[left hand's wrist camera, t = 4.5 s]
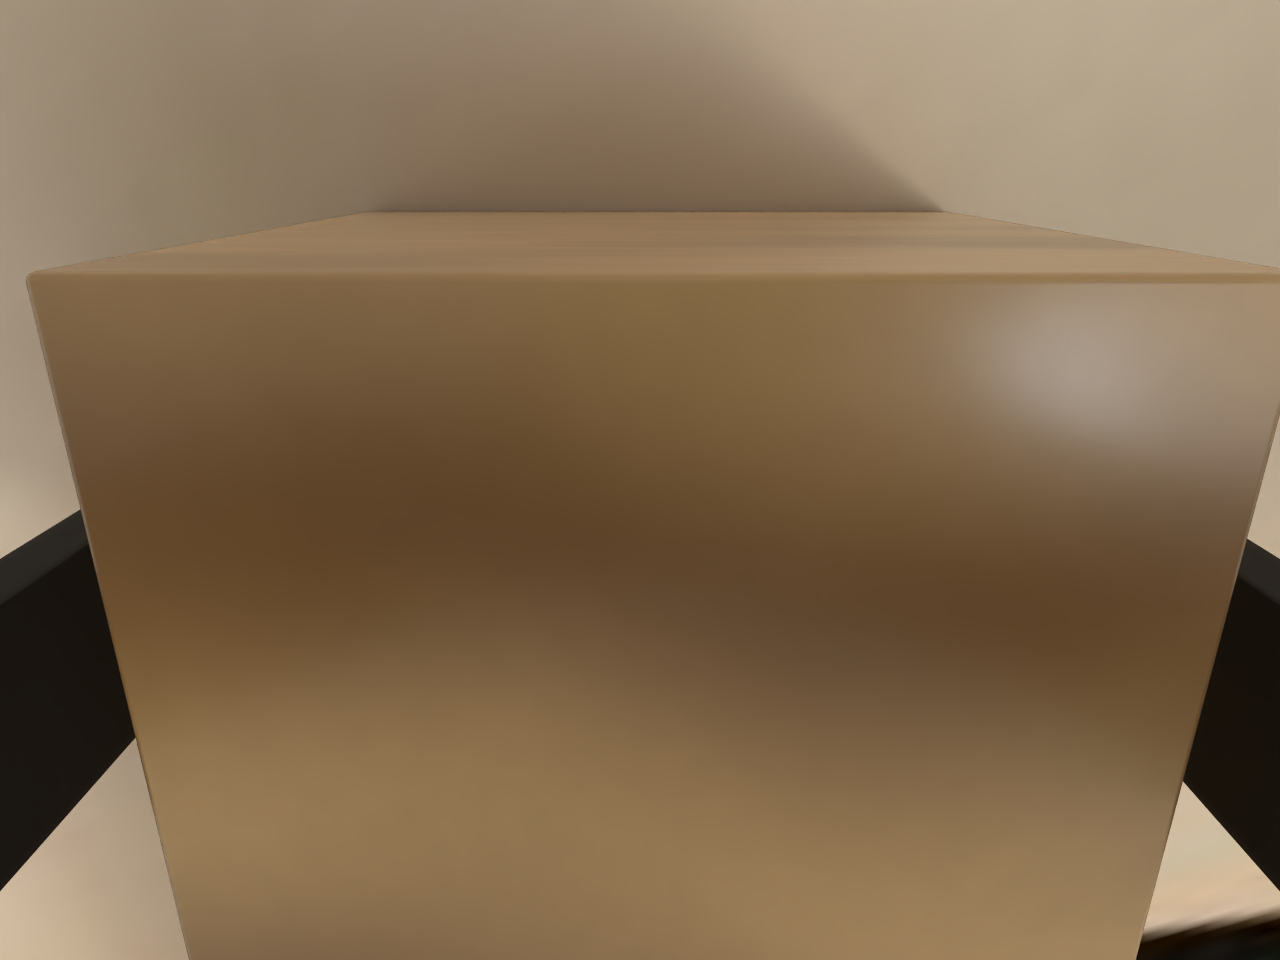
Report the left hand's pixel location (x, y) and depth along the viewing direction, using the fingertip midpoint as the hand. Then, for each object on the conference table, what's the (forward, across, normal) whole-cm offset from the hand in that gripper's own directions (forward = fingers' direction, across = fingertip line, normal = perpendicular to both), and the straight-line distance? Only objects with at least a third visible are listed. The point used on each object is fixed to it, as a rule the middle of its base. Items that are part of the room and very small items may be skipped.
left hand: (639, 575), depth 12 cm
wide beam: (+2, 0, -33) cm, 33 cm away
